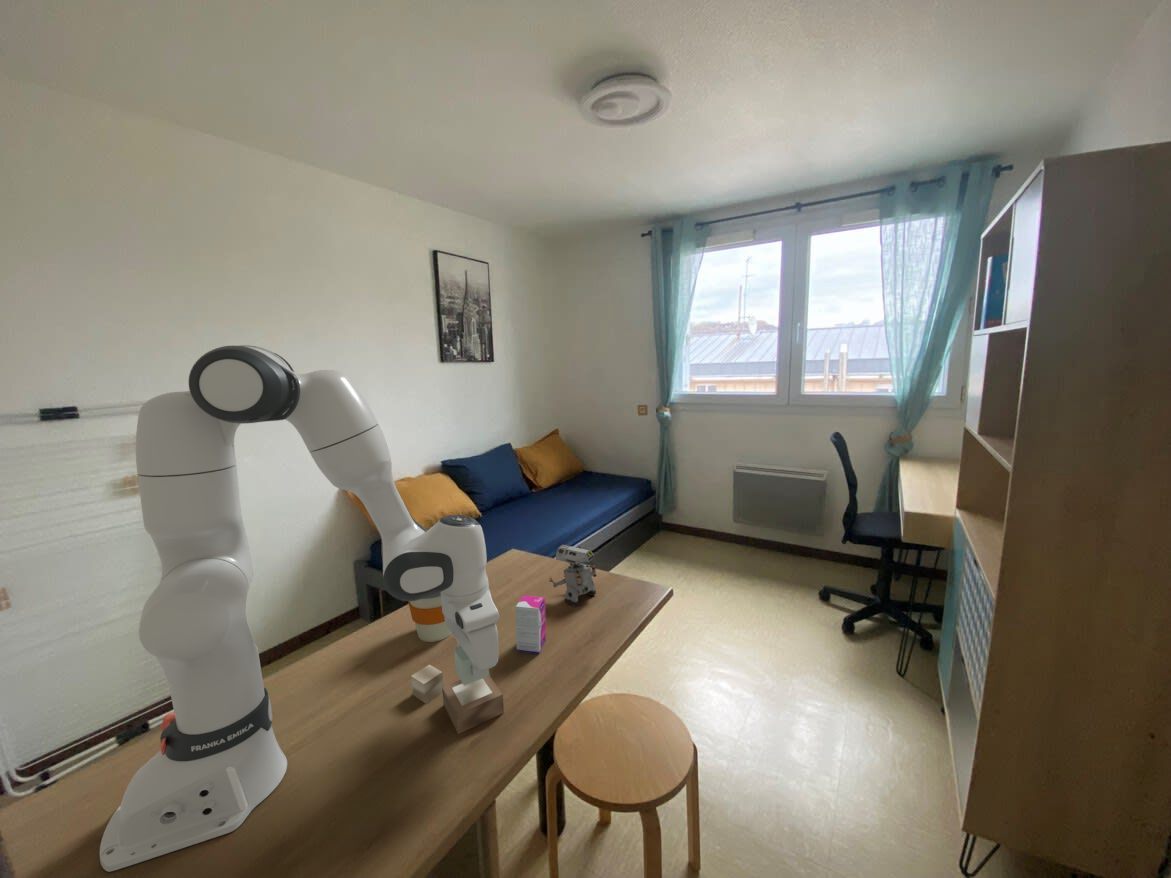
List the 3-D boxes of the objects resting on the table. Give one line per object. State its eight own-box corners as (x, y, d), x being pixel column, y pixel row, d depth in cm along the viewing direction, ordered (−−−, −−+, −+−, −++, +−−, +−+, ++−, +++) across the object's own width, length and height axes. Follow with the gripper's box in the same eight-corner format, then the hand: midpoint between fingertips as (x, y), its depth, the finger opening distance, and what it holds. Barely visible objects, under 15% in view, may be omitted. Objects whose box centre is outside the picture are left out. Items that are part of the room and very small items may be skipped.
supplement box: (540, 654, 108) (538, 608, 107) (516, 652, 110) (513, 606, 108) (547, 640, 114) (545, 596, 112) (524, 637, 115) (521, 594, 113)
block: (425, 703, 94) (423, 684, 93) (412, 695, 96) (410, 675, 96) (443, 691, 97) (442, 672, 96) (431, 683, 100) (429, 664, 99)
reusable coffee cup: (442, 649, 111) (437, 591, 109) (399, 641, 115) (393, 584, 113) (471, 622, 123) (467, 568, 121) (431, 615, 127) (427, 563, 125)
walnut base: (458, 733, 86) (456, 713, 85) (443, 705, 93) (442, 686, 92) (503, 712, 90) (502, 693, 90) (486, 687, 98) (485, 669, 97)
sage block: (464, 685, 87) (462, 661, 86) (455, 671, 91) (453, 648, 91) (489, 675, 90) (487, 651, 89) (479, 662, 94) (478, 639, 93)
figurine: (570, 585, 142) (568, 538, 140) (600, 596, 135) (599, 547, 132) (549, 597, 135) (547, 548, 133) (579, 609, 128) (578, 558, 125)
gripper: (433, 583, 95) (439, 645, 97) (467, 628, 78) (474, 702, 80) (463, 575, 98) (468, 635, 101) (502, 616, 81) (507, 688, 84)
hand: (471, 665), depth 90 cm, fingers closed on sage block, 5 cm apart
